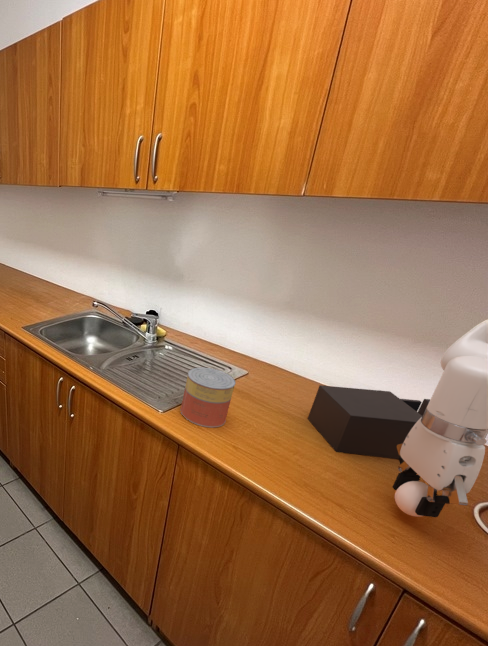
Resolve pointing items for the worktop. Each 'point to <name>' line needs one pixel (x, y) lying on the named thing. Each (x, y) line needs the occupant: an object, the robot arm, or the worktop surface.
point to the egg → (410, 496)
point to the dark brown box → (362, 420)
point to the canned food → (207, 396)
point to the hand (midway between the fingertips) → (413, 501)
